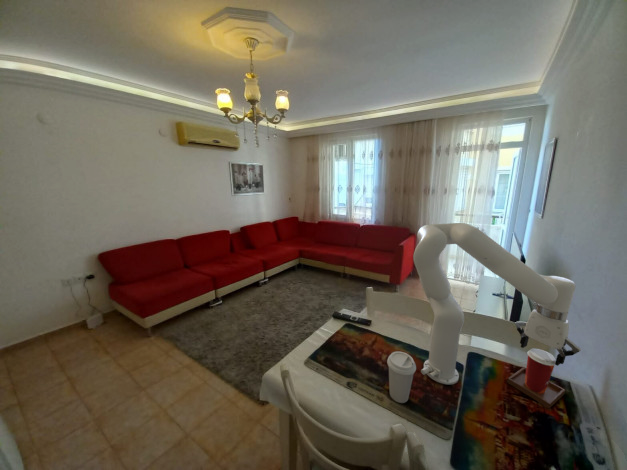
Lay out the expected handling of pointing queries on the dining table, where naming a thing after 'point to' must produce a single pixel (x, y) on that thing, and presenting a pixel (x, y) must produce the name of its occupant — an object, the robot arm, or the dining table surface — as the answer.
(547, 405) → the tray
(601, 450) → the dining table surface
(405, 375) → the coffee cup
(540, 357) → the paper cup
